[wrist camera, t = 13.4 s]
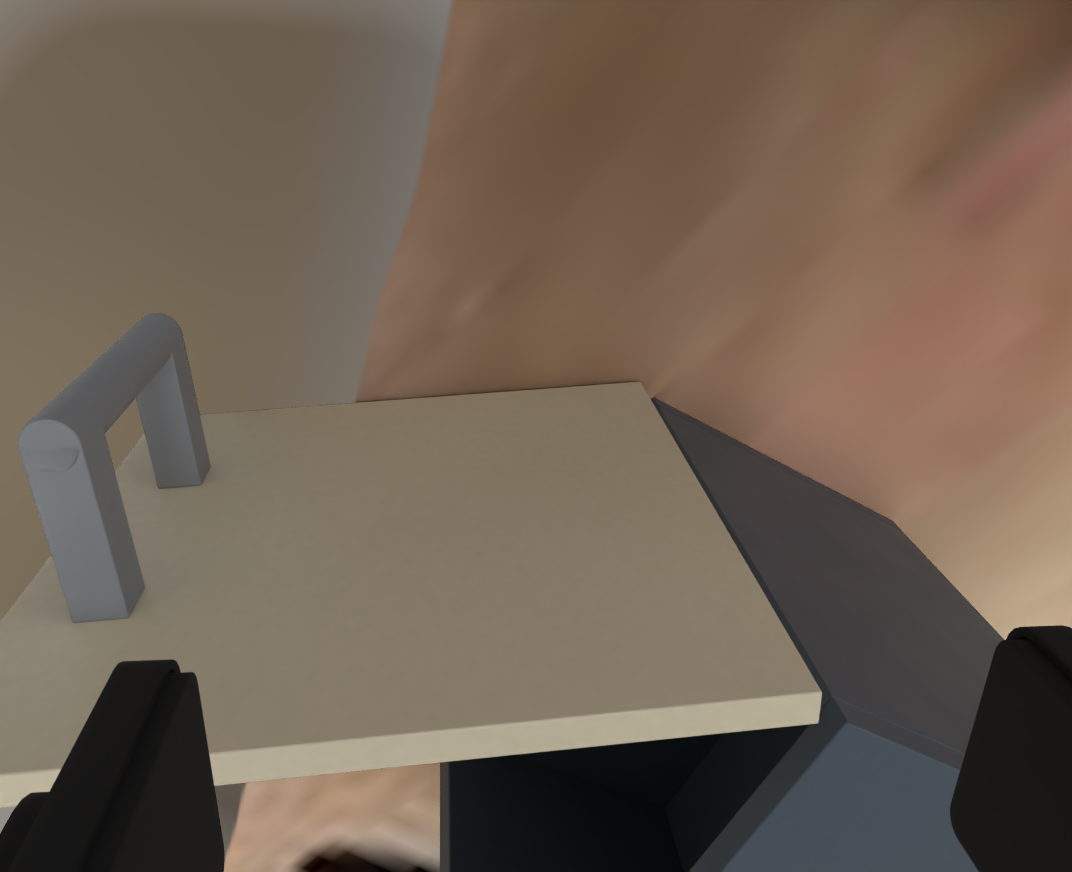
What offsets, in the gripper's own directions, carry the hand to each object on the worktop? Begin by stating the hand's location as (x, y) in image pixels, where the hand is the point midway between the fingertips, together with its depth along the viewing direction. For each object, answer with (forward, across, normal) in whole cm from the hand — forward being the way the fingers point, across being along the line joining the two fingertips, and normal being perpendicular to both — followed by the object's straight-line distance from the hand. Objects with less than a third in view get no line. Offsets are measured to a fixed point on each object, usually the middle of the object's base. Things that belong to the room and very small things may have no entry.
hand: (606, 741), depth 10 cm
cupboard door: (+30, +4, +5) cm, 31 cm away
